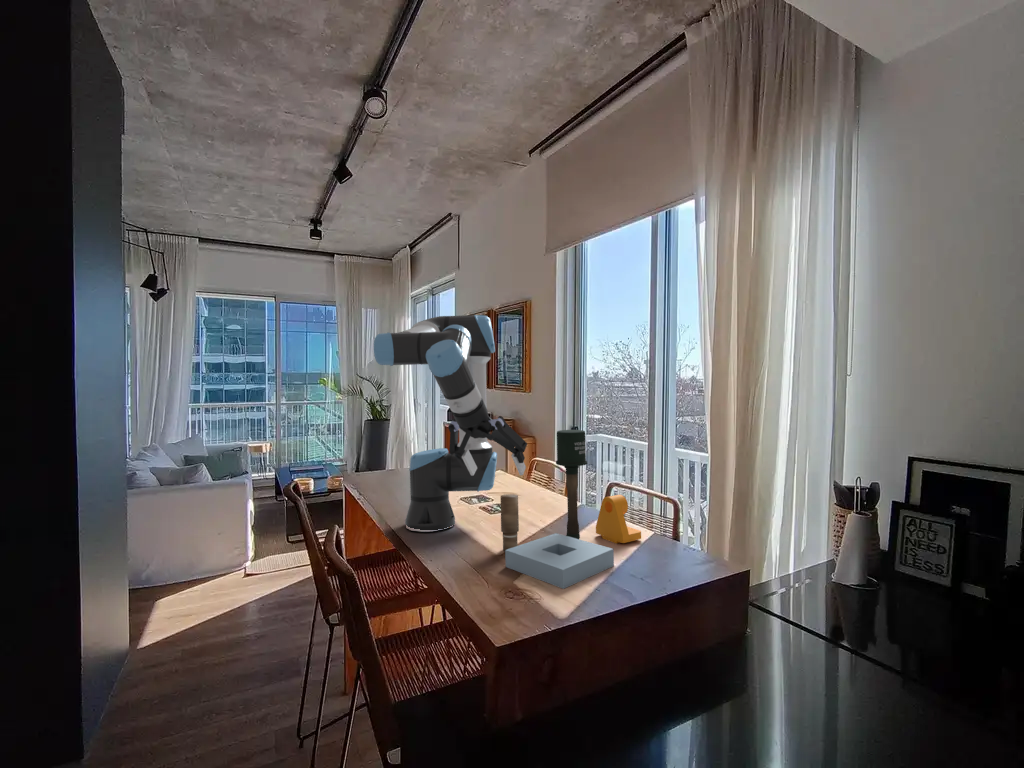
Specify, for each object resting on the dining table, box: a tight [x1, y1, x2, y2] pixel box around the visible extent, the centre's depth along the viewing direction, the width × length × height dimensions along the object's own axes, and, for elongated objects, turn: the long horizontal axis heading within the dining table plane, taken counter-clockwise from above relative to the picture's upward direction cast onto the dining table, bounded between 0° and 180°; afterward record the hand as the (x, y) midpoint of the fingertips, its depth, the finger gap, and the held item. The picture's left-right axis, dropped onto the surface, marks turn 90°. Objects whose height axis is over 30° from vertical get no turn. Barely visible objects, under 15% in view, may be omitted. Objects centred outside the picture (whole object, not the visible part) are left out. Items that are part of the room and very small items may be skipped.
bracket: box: [595, 494, 642, 545], centre depth 136 cm, size 11×7×12 cm, turn 31°
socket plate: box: [504, 532, 615, 590], centre depth 116 cm, size 18×18×4 cm
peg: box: [500, 493, 520, 552], centre depth 129 cm, size 5×5×14 cm
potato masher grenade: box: [555, 429, 588, 540], centre depth 135 cm, size 8×9×30 cm
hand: (498, 471), depth 122 cm, fingers open, 13 cm apart
